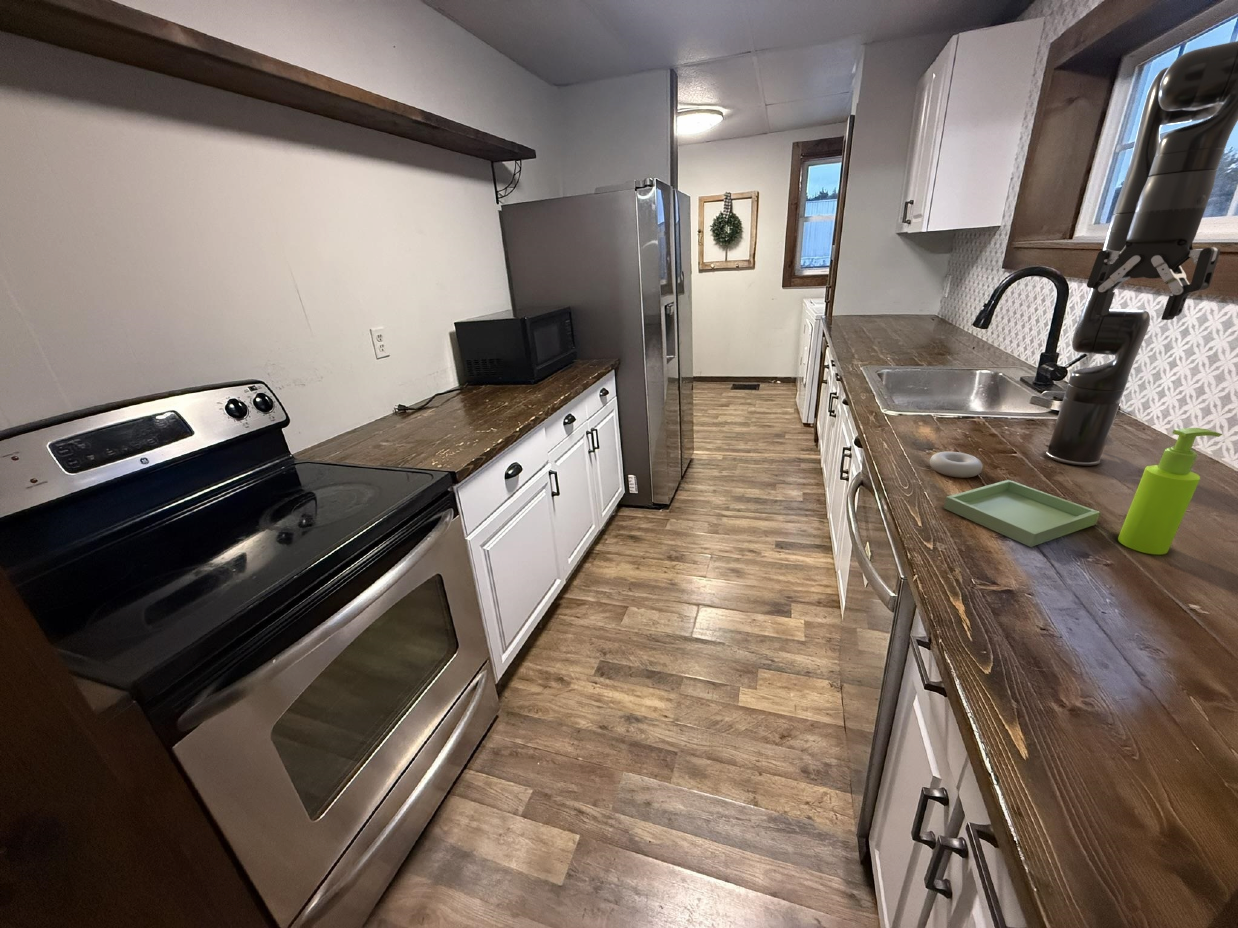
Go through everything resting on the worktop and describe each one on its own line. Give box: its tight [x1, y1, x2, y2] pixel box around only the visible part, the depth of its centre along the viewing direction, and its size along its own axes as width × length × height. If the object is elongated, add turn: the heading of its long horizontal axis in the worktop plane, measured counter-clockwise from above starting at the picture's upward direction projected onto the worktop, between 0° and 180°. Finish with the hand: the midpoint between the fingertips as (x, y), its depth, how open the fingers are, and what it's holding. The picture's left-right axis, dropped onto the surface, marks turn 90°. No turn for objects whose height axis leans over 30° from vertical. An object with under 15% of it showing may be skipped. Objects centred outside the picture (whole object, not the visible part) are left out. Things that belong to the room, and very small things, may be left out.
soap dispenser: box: [1117, 427, 1223, 555], centre depth 78 cm, size 6×7×20 cm
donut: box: [929, 450, 984, 479], centre depth 111 cm, size 10×4×10 cm
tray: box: [943, 479, 1101, 548], centre depth 92 cm, size 18×16×2 cm
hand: (1132, 317), depth 82 cm, fingers open, 8 cm apart
